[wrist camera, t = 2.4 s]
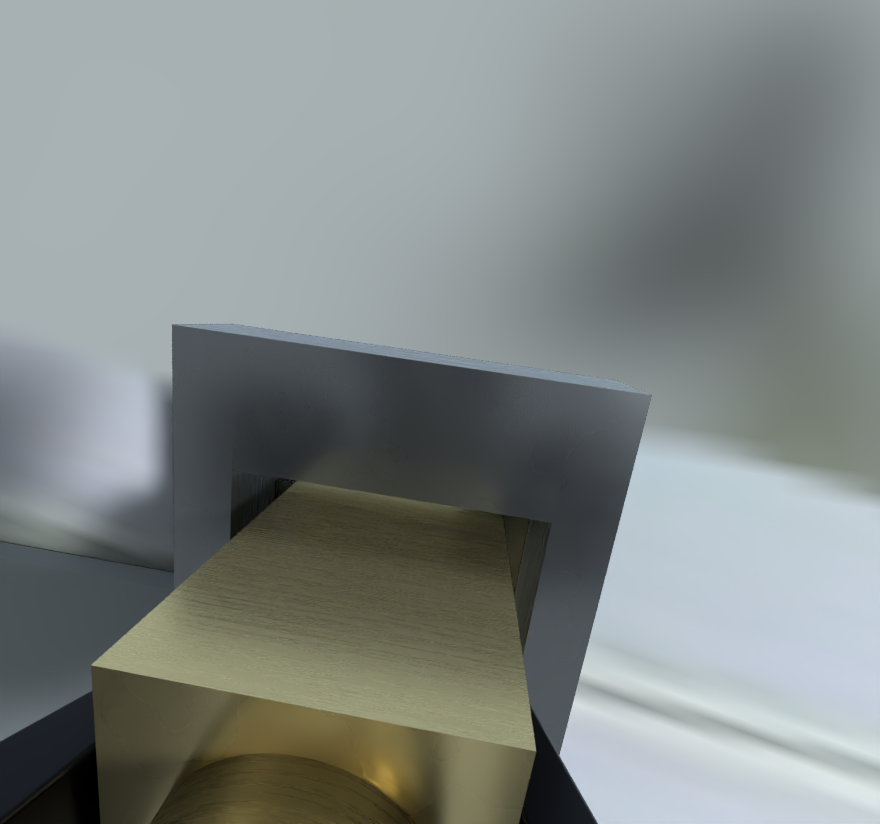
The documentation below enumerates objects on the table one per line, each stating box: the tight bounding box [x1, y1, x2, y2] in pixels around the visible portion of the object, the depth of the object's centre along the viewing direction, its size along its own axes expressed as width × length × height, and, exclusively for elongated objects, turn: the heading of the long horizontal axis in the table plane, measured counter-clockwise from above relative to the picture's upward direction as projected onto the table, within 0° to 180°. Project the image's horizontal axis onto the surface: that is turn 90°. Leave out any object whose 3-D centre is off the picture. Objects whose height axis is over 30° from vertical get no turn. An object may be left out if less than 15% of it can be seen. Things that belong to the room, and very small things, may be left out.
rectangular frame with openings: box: [172, 324, 652, 755], centre depth 11 cm, size 22×9×2 cm, turn 172°
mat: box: [0, 542, 174, 741], centre depth 12 cm, size 10×10×1 cm
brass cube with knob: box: [91, 481, 536, 824], centre depth 7 cm, size 5×5×8 cm
